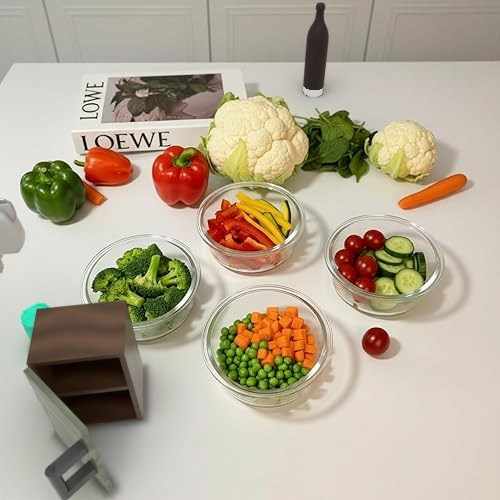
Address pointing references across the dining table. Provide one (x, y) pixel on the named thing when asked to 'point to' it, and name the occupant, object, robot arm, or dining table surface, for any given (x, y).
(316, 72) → the wine bottle
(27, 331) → the candle
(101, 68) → the dining table surface
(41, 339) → the cupboard
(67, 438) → the cupboard door
